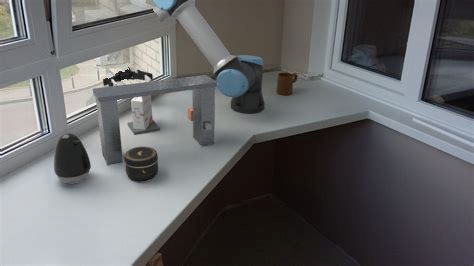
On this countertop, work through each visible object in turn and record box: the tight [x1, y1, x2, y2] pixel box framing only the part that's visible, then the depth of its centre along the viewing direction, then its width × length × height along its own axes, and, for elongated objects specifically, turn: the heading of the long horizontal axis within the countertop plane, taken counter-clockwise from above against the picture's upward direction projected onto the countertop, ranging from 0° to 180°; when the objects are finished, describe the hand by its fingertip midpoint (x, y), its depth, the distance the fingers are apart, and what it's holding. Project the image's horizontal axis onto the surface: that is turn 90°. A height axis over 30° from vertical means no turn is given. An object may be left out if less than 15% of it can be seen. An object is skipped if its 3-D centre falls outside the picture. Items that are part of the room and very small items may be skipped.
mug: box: [276, 72, 298, 96], centre depth 202 cm, size 12×8×9 cm, turn 129°
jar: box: [123, 146, 159, 183], centre depth 127 cm, size 10×10×8 cm
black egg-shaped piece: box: [53, 132, 92, 185], centre depth 122 cm, size 10×10×15 cm
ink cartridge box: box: [130, 95, 154, 130], centre depth 157 cm, size 9×5×15 cm, turn 170°
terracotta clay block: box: [187, 106, 212, 130], centre depth 149 cm, size 16×4×4 cm, turn 28°
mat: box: [127, 119, 161, 136], centre depth 161 cm, size 10×10×1 cm
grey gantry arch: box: [92, 74, 217, 166], centre depth 140 cm, size 9×39×24 cm, turn 118°
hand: (133, 84), depth 163 cm, fingers open, 13 cm apart
